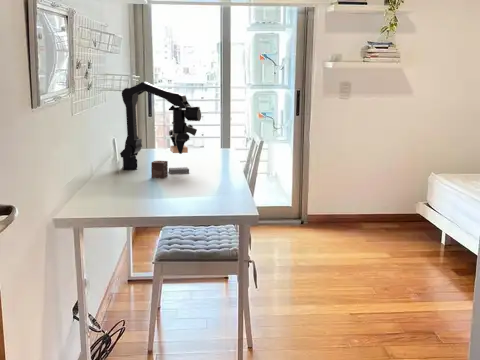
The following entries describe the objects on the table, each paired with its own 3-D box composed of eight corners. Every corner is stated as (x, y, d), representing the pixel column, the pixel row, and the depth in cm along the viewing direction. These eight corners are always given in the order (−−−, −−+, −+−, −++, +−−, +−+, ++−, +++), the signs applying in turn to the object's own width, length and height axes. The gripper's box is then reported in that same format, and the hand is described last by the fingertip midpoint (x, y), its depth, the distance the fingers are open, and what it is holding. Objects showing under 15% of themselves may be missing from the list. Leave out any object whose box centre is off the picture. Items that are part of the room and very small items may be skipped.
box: (163, 178, 247) (163, 163, 246) (151, 178, 248) (151, 162, 247) (167, 176, 253) (168, 160, 252) (155, 175, 254) (155, 160, 253)
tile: (173, 153, 256) (173, 147, 255) (170, 150, 262) (170, 145, 262) (187, 152, 258) (187, 147, 258) (184, 150, 265) (184, 145, 264)
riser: (170, 173, 259) (170, 169, 258) (168, 171, 263) (168, 167, 263) (189, 173, 262) (189, 169, 261) (186, 171, 266) (186, 167, 266)
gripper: (200, 122, 251) (199, 155, 254) (191, 118, 268) (190, 149, 272) (176, 122, 248) (176, 155, 251) (168, 118, 265) (168, 149, 268)
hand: (178, 152), depth 260 cm, fingers closed on tile, 7 cm apart
